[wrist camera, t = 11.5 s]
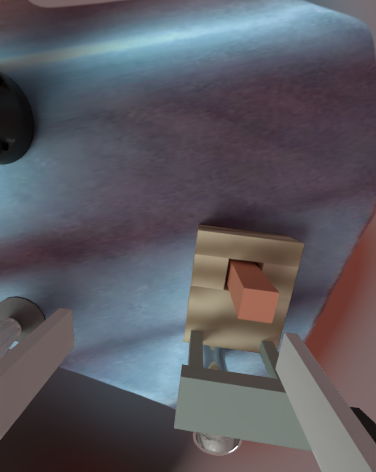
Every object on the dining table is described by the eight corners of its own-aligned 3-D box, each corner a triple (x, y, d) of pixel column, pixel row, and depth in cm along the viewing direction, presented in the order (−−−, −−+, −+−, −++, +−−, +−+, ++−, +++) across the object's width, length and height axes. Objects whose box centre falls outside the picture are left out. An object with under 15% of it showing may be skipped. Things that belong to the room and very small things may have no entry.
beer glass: (201, 365, 40) (201, 461, 26) (189, 339, 39) (183, 423, 25) (231, 357, 40) (250, 451, 25) (221, 330, 38) (234, 412, 24)
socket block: (198, 224, 34) (198, 230, 28) (286, 235, 34) (304, 243, 28) (186, 319, 38) (183, 341, 32) (264, 330, 38) (275, 355, 32)
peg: (226, 252, 35) (244, 288, 21) (248, 254, 35) (279, 292, 21) (223, 271, 36) (238, 318, 22) (244, 274, 36) (272, 323, 22)
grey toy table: (188, 306, 31) (180, 376, 19) (285, 319, 30) (341, 401, 18) (183, 341, 32) (174, 428, 20) (275, 355, 32) (322, 452, 20)
